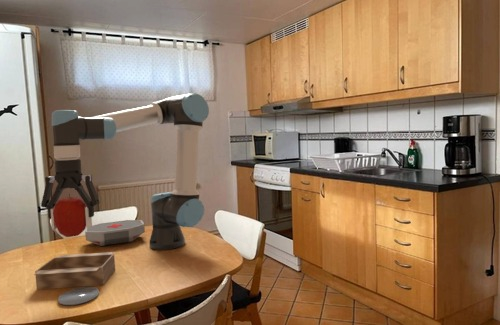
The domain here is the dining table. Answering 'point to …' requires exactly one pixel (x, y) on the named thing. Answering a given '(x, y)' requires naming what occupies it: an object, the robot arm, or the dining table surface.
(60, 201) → the apple
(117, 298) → the dining table surface
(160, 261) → the dining table surface
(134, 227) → the first aid kit
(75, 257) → the brown shallow open box
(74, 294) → the plate
